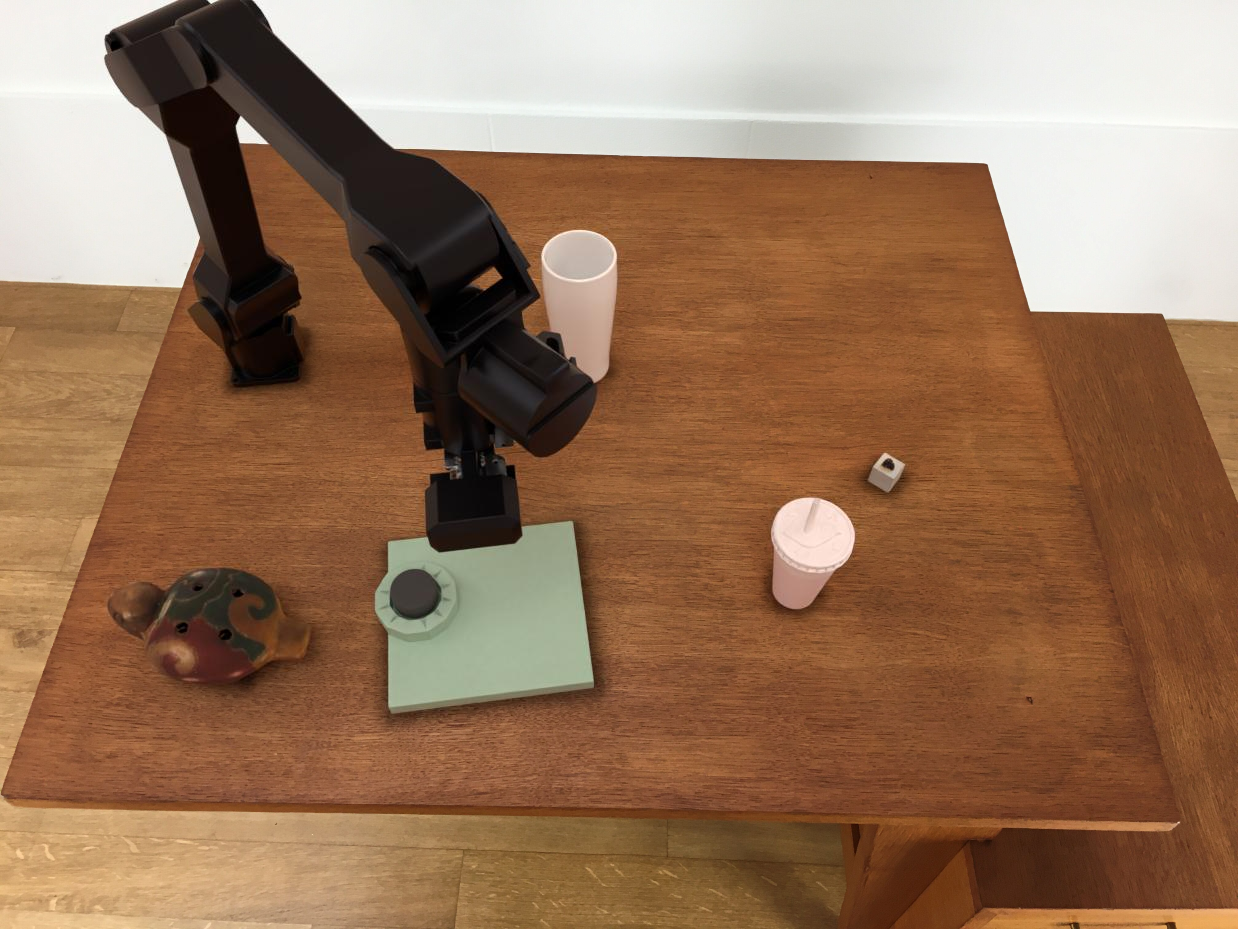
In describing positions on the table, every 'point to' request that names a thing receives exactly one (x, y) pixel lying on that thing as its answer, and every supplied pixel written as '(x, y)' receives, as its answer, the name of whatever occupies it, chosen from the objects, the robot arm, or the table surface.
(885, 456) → the cube with dark pebbles
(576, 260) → the drinking glass
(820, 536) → the smoothie
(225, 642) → the multicoloured rounded piece
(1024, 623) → the table surface
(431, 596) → the power button
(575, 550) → the scale
